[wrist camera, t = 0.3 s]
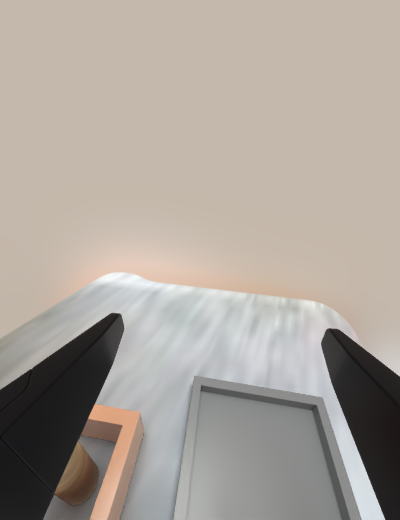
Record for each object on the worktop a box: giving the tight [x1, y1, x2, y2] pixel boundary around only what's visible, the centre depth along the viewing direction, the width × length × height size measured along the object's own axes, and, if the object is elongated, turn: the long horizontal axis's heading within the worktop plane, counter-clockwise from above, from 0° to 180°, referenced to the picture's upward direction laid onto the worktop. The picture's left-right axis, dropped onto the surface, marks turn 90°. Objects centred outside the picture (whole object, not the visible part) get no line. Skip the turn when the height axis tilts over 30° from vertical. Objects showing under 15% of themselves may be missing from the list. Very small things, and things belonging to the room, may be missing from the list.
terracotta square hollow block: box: [81, 404, 144, 520], centre depth 15 cm, size 7×7×4 cm
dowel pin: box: [53, 441, 99, 505], centre depth 14 cm, size 2×2×9 cm
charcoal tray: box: [173, 376, 362, 520], centre depth 17 cm, size 13×13×2 cm
